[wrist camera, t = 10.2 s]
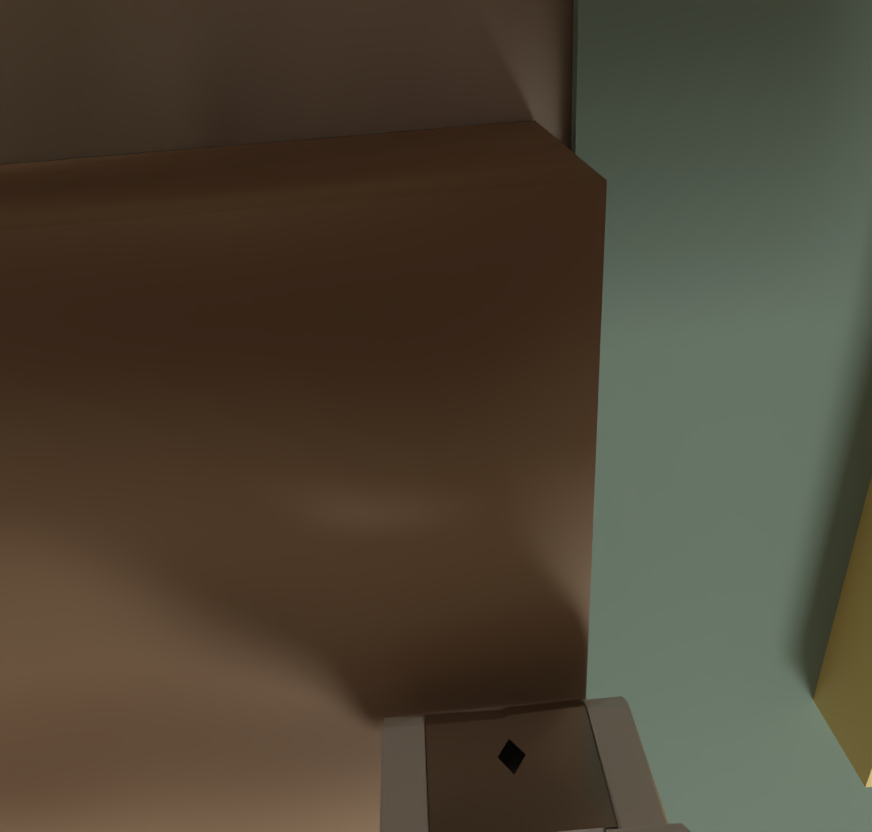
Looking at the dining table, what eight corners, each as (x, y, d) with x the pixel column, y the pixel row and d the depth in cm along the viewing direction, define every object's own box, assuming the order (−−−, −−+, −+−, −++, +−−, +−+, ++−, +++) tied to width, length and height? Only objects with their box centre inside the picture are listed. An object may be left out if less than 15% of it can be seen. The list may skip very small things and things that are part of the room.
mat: (575, -159, 9) (581, -164, 8) (1428, -227, 9) (1461, -235, 8) (559, 848, 18) (561, 860, 18) (959, 814, 18) (967, 826, 18)
